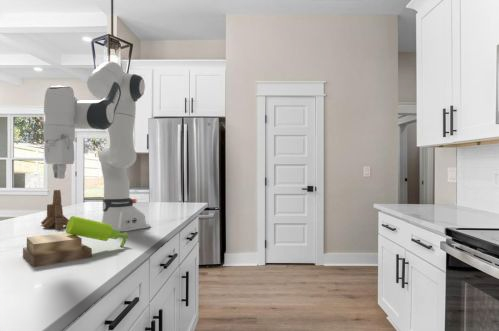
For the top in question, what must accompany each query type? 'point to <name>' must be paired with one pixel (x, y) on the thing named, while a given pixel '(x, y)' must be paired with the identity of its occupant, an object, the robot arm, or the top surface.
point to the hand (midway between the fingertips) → (59, 178)
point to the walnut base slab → (57, 256)
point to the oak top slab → (53, 244)
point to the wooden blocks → (55, 213)
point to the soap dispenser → (93, 230)
